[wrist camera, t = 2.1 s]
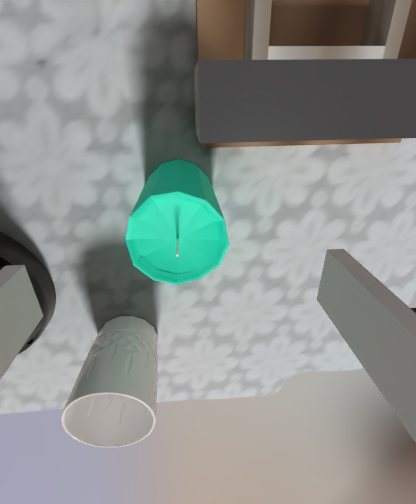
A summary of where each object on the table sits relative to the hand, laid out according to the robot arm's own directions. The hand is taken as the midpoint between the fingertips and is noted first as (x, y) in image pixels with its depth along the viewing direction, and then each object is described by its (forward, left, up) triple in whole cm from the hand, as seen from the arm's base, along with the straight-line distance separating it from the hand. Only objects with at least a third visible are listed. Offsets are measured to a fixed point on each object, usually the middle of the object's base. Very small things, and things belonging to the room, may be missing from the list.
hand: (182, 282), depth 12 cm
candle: (0, 0, -15) cm, 15 cm away
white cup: (-7, -17, -15) cm, 24 cm away
